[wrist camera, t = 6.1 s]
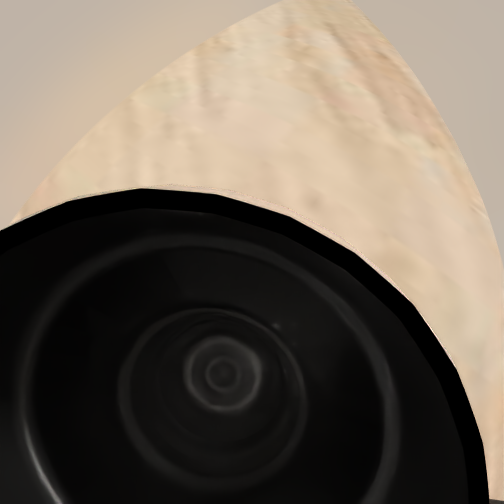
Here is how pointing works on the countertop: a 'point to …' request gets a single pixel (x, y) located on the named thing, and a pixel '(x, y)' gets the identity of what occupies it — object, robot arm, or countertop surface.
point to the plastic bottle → (218, 362)
